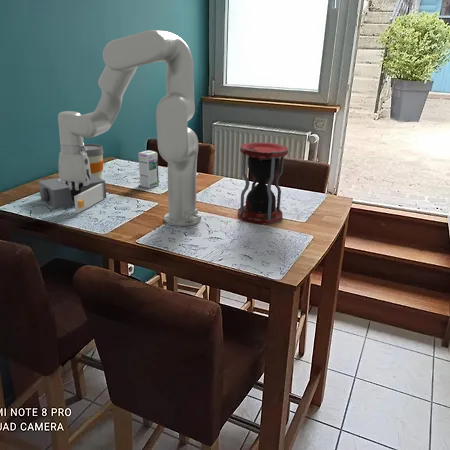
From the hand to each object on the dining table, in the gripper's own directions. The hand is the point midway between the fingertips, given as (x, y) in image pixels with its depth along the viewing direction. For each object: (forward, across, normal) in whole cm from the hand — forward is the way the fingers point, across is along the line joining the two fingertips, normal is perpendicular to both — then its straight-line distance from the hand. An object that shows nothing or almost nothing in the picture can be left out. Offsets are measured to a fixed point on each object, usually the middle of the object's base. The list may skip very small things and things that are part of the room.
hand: (76, 199), depth 154 cm
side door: (+3, -4, -4) cm, 6 cm away
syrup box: (+3, -14, -34) cm, 37 cm away
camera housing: (+4, +7, -10) cm, 13 cm away
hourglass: (+2, -65, -11) cm, 66 cm away
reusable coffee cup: (+4, +12, -32) cm, 35 cm away
